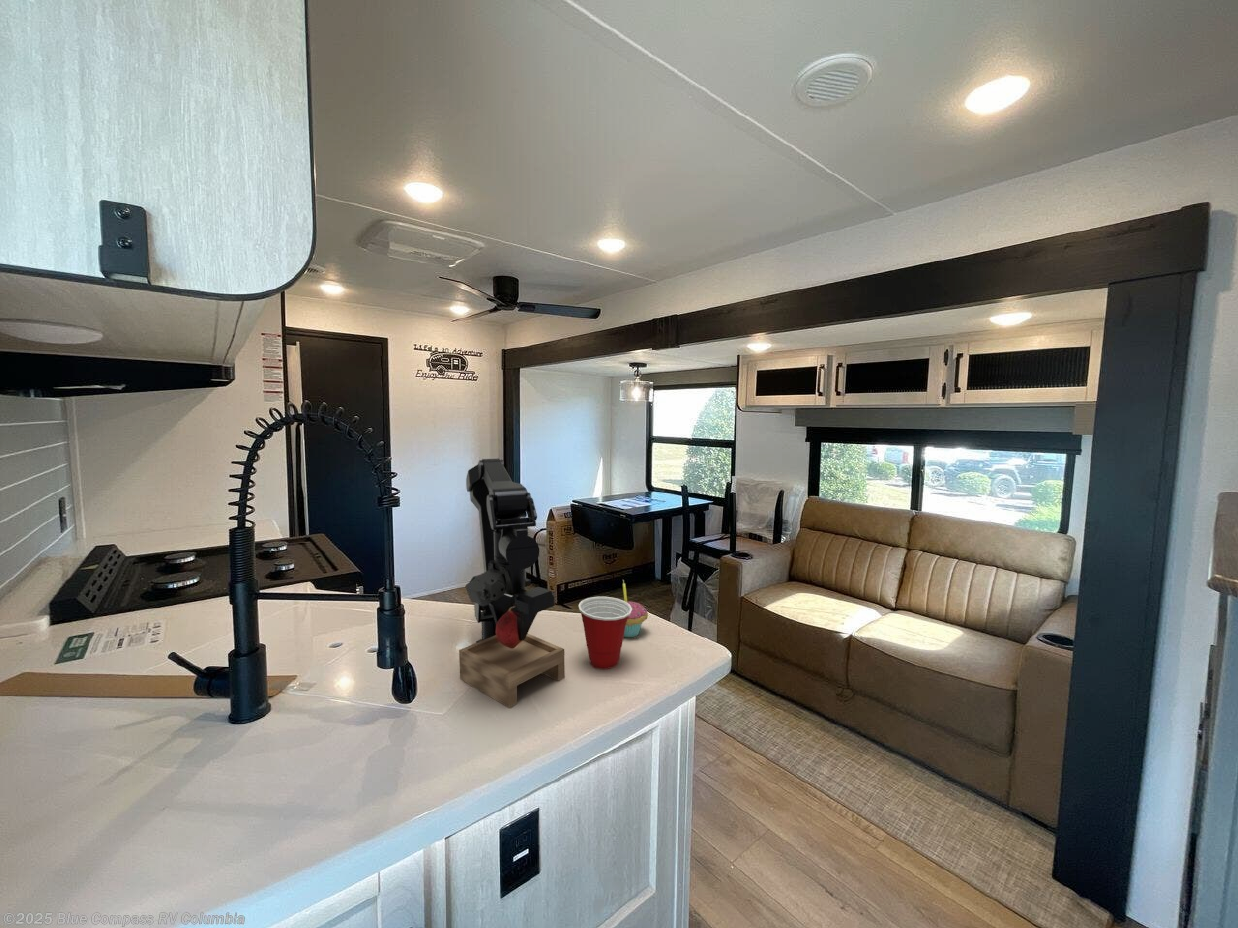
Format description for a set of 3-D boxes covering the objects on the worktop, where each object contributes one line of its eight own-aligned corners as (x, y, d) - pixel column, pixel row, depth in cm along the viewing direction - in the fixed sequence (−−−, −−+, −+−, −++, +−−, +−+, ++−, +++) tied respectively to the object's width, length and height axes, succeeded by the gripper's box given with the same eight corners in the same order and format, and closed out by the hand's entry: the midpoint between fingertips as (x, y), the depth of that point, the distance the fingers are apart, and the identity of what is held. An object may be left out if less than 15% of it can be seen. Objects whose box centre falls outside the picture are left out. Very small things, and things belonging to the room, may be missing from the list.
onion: (511, 658, 89) (511, 615, 88) (489, 650, 92) (488, 609, 91) (533, 645, 94) (533, 605, 93) (511, 638, 97) (510, 599, 96)
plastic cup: (619, 680, 93) (619, 619, 92) (569, 669, 97) (568, 610, 96) (639, 655, 103) (639, 599, 102) (593, 646, 107) (592, 592, 106)
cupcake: (603, 632, 114) (602, 581, 113) (629, 622, 120) (629, 574, 119) (628, 644, 108) (628, 591, 107) (655, 633, 113) (655, 582, 112)
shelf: (459, 678, 93) (459, 649, 93) (514, 653, 103) (514, 627, 103) (509, 708, 84) (508, 675, 83) (564, 677, 94) (564, 648, 93)
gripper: (443, 554, 91) (445, 635, 93) (506, 575, 79) (507, 667, 81) (493, 543, 100) (494, 617, 101) (556, 560, 88) (557, 643, 89)
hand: (511, 635), depth 93 cm, fingers closed on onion, 6 cm apart
